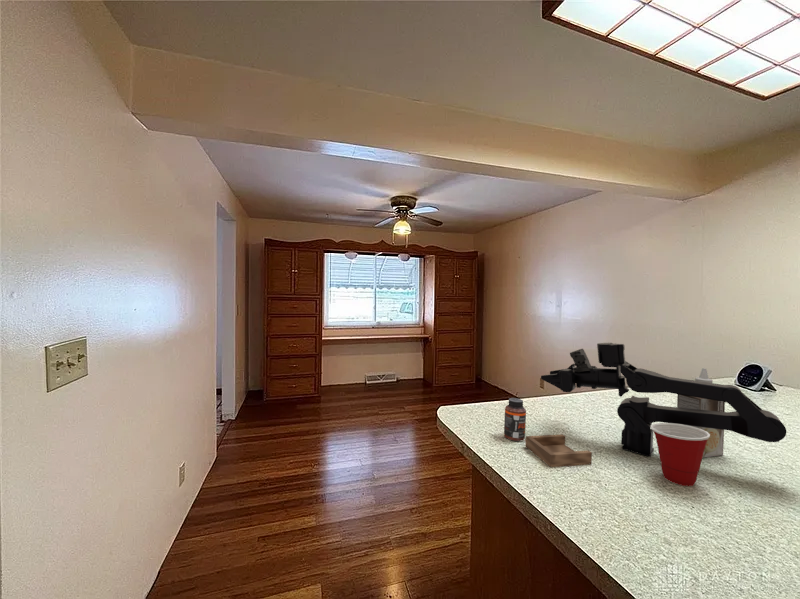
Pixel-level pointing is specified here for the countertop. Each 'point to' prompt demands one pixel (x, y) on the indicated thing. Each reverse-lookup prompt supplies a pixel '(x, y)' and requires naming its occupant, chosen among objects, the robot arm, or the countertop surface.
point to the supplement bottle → (515, 420)
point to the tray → (556, 451)
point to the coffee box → (716, 435)
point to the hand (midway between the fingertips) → (545, 375)
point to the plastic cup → (680, 451)
